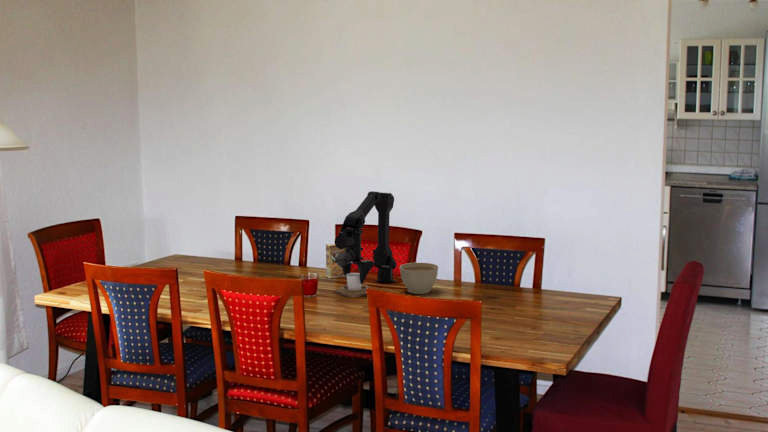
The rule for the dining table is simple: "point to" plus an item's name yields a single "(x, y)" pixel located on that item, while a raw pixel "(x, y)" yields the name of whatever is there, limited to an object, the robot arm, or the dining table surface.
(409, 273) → the planter bowl
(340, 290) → the saucer
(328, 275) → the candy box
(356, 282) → the white cup
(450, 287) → the dining table surface
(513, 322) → the dining table surface
